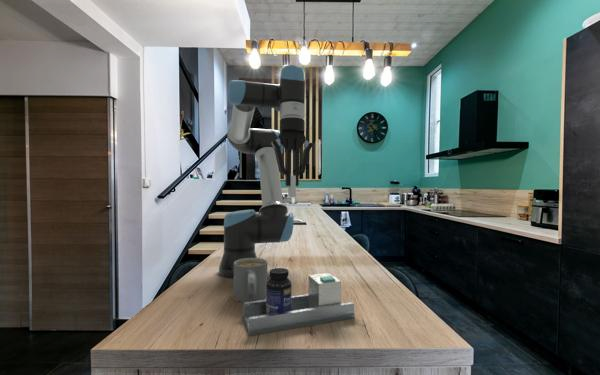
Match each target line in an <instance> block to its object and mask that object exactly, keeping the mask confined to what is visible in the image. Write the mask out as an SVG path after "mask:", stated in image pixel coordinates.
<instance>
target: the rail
mask: <svg viewBox="0 0 600 375" xmlns="http://www.w3.org/2000/svg"><path fill="white" fill-rule="evenodd" d="M242 317H243V320H244V323H245V324H244V325H245V326H246V329H247V332H248V336H249V337H251V336H256V335H263V334H267V333H274V332H279V331H286V330H291V329H297V328H303V327H304V328H305V327H309V326H315V325H322V324H326V323H334V322H339V321H344V320H350V319H351V320H352V319H355V303H354V302H353V301H350V302H349V301H348V302H343V303H342V281H341V280H340V279H339V278H337V277H336V276H334V275H333V274H331V273H329V272H326V273H317V274H308V292H307V294H305V293H304V294H299V295H291V311H288V312H281V313H274V314H268V315H267V314H266V299H262V300H259V301H251V302H243V303H242Z"/></svg>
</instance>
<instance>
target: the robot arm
mask: <svg viewBox="0 0 600 375" xmlns="http://www.w3.org/2000/svg"><path fill="white" fill-rule="evenodd" d="M279 72H280V73H279V76H278V77H279V84H276V83H275V84H274V83H273V84H272V83H264V82H257V81H255V82H253V81H246V80H242V79H241V80H238V79H237V80H235V79H234V80H230V81H229V82H228V93H227V94H228V96H227V97H228V103H229V104H230V105H233V106H232V111H231V118H230V119H231V120H230V126H229V127H228V129H227V133H226V134H227V135H226V136H227V140H228V142H229V144H230V145H231V146H232V148H234V149H235V150H237V151H238V152H240V153H242V154H248V155H249V154H250V155H251V154H252V155H254V158H255V159H256V160H257V161H258V167H259V181H260V192H261V193H260V195H261V207H260V208H259V210H258V212H257V213H256V210H255V209H244V210H243V209H242V210H241V209H240V210H236V211H232V212H229V213H226V214H225V216H224V217H223V219H224V220H223V226H222V227H223V229H224V230H223V253H222V254H223V255H222V257H221V260H220V262H219V267H218V274H219V275H220V276H222V277H225V278H234V262H235V261H236V260H239V259H244V258H258V256H257V253H256V245H257V244H268V243H269V244H270V243H285V242H288V241H290V240H291V239H292V236H293V231H294V226H295V225H294V221H295V220H294V218H295V217H294V214H293V212H290V211H288V207H287V206H286V205H285V204H284V199H283V192H282V185H281V176H280V174H283V176H284V177H285V180H284V182H285V183H284V184H285V186H286V187H288V190H287V191H288V195H287V197H288V198H296V195H297V192H296V189H297V187H299V185H300V182H299V180H300V179H299V178H300V175H303V174H304V173H306V168H307V164H308V159H309V155H310V151H311V149H312V147H313V146H314V144H313V142H309V141H308V140H307V138H306V135H305V133H306V132H305V129H306V128H305V127H306V126H305V123H306V122H305V121H306V120H305V117H306V116H305V115H306V114H305V109H306V108H305V96H306V95H305V93H306V89H305V88H306V86H305V83H306V78H305V77H306V76H305V75H306V74H305V70H304V68H303V67H301V66H298V65H294V64H293V65H292V64H290V65H289V64H288V65H284V66H282V68H280V71H279ZM257 107H259V108H267V109H268V108H269V109H274V110H275V111H276V112H279V118H280V120H279V130H277V129H272V128H269V129H265V128H251V124H252V121H253V117H254V114H255V113H254V112H255V110H256V108H257ZM302 146H303V151H302V155H301V158H300V152H301V149H302V148H301V147H302ZM283 152H284V159H283ZM300 159H301V160H300Z"/></svg>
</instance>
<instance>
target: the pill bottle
mask: <svg viewBox="0 0 600 375" xmlns="http://www.w3.org/2000/svg"><path fill="white" fill-rule="evenodd" d="M268 273H269V278H270V279H267V284H266V287H267V288H266V297H265V298H266V299H265V300H266V314H267V315H268V314H274V313H281V312H288V311H291V296H292V281H291V280H290V279H289V274H290V273H289V269H287V268H284V267H276V268H275V267H274V268H272V269H271V268H270V270H269V272H268Z"/></svg>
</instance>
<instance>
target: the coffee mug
mask: <svg viewBox="0 0 600 375" xmlns="http://www.w3.org/2000/svg"><path fill="white" fill-rule="evenodd" d="M267 281H268V260H267V259H265V258H261V257H260V258H259V257H257V258H244V259H239V260H236V261H235V262H234V277H233V298H234V300H235V301H238V302H240V303H241V302H243V303H244V302H251V301H259V300H265V298H266V288H267V287H266V284H267Z"/></svg>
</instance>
